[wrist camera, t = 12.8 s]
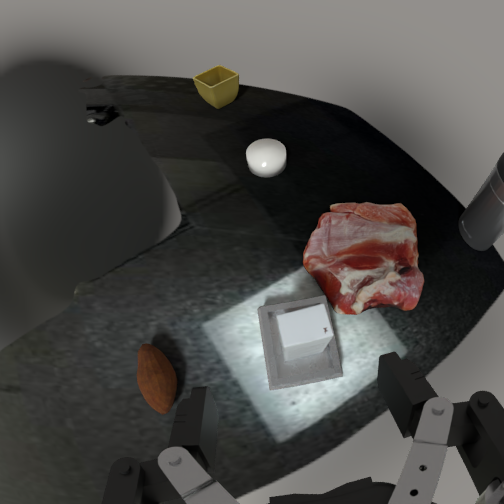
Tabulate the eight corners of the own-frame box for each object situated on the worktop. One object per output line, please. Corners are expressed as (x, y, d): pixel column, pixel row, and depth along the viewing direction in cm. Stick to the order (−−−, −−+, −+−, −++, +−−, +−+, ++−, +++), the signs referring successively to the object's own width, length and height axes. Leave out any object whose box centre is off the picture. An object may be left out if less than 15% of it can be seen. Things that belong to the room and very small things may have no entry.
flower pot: (244, 101, 74) (239, 73, 66) (217, 115, 72) (210, 87, 64) (224, 90, 78) (219, 64, 70) (198, 104, 76) (191, 77, 68)
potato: (170, 341, 47) (154, 332, 42) (191, 407, 42) (178, 408, 36) (138, 352, 47) (120, 344, 41) (157, 417, 42) (140, 418, 36)
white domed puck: (282, 148, 65) (281, 136, 61) (290, 174, 61) (289, 162, 58) (246, 154, 65) (243, 142, 62) (251, 180, 61) (249, 168, 58)
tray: (325, 297, 48) (327, 291, 46) (342, 376, 42) (345, 374, 40) (257, 309, 49) (256, 304, 46) (270, 390, 42) (269, 389, 40)
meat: (313, 335, 46) (320, 318, 37) (292, 220, 56) (293, 185, 47) (430, 311, 45) (457, 291, 36) (396, 208, 55) (411, 175, 46)
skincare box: (316, 325, 46) (325, 301, 35) (323, 352, 44) (335, 336, 33) (277, 335, 46) (275, 314, 35) (283, 361, 44) (283, 349, 33)
